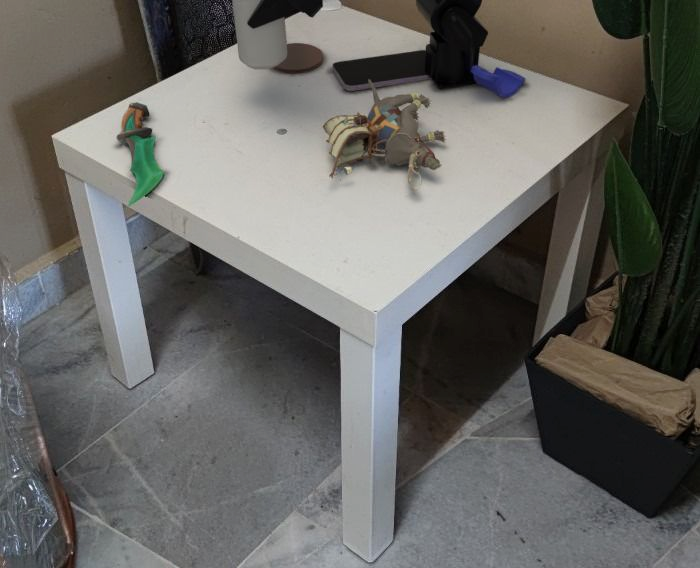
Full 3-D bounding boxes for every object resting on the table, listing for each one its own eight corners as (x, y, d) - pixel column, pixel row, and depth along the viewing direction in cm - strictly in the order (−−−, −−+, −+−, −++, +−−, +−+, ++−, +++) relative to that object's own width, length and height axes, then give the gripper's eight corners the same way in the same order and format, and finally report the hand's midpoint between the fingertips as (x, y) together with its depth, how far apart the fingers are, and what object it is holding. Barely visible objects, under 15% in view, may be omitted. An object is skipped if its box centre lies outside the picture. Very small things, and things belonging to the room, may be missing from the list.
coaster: (315, 43, 136) (315, 39, 135) (329, 68, 130) (329, 64, 130) (262, 50, 134) (262, 47, 134) (274, 76, 129) (274, 73, 128)
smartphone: (448, 72, 128) (346, 87, 124) (447, 79, 129) (346, 94, 125) (428, 48, 133) (330, 62, 129) (427, 55, 134) (330, 69, 130)
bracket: (532, 81, 125) (525, 99, 127) (507, 68, 128) (500, 85, 129) (490, 77, 119) (483, 95, 120) (465, 63, 122) (458, 81, 123)
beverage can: (297, 55, 121) (291, -33, 113) (269, 76, 117) (261, -14, 109) (257, 44, 124) (249, -43, 116) (229, 65, 120) (218, -24, 111)
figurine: (483, 138, 107) (359, 183, 100) (478, 179, 111) (358, 225, 105) (392, 58, 119) (276, 94, 113) (390, 97, 123) (278, 134, 117)
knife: (151, 110, 122) (112, 111, 121) (150, 98, 121) (111, 100, 119) (170, 210, 107) (126, 213, 106) (169, 197, 106) (125, 200, 105)
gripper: (274, -152, 112) (195, -56, 118) (287, -99, 98) (198, 7, 105) (339, -92, 118) (261, -3, 124) (361, -33, 104) (272, 63, 111)
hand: (248, 14), depth 116 cm, fingers closed on beverage can, 6 cm apart
